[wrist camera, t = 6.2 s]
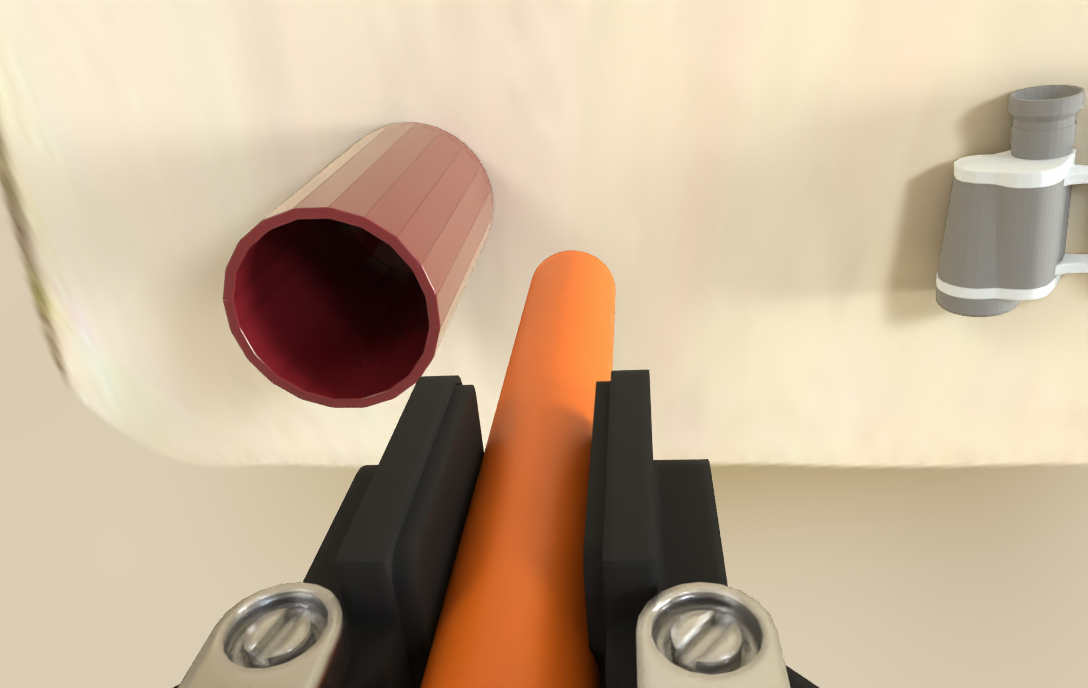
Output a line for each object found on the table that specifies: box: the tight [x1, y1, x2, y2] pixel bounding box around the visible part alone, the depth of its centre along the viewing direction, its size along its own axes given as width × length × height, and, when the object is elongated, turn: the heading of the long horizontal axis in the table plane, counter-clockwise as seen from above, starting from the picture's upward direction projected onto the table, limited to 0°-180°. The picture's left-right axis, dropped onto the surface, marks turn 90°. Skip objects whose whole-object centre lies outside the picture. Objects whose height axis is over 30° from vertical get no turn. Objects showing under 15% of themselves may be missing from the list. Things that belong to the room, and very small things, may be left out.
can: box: [223, 122, 494, 408], centre depth 31 cm, size 7×7×12 cm
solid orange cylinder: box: [420, 251, 615, 688], centre depth 13 cm, size 2×2×12 cm
